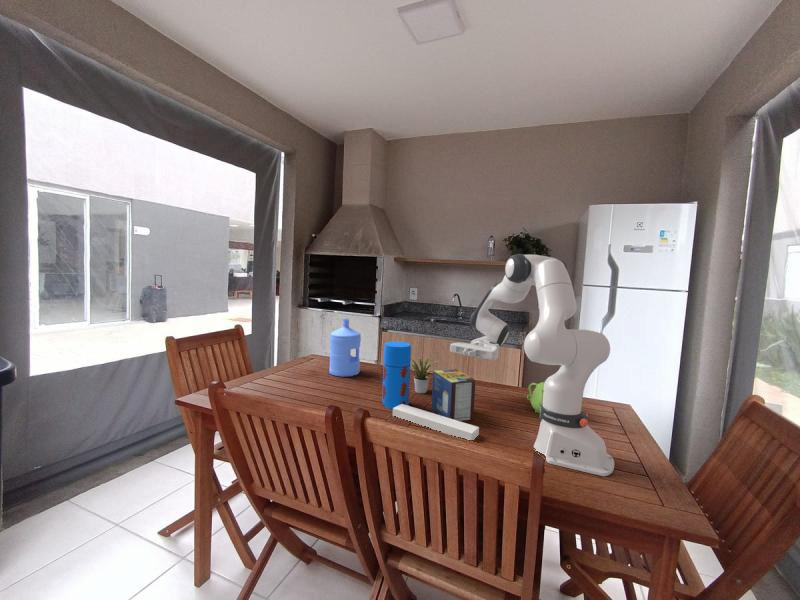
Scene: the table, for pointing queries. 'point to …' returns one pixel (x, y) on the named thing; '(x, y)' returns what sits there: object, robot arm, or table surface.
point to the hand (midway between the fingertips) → (466, 353)
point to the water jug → (344, 351)
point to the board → (436, 422)
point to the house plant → (421, 375)
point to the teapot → (536, 396)
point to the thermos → (396, 374)
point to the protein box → (453, 394)
